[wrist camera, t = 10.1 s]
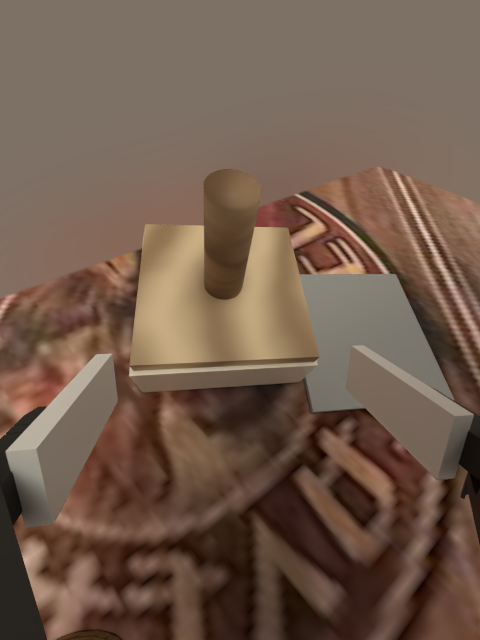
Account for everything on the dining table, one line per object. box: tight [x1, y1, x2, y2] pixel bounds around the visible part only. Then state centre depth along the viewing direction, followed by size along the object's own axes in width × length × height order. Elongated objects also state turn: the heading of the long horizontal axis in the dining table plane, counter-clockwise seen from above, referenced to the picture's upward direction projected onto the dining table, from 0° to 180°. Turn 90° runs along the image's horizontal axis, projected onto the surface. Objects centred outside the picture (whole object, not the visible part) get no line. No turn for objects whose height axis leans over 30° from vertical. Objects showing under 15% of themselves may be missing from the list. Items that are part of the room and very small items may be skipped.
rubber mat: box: [300, 274, 455, 413], centre depth 30 cm, size 15×16×1 cm
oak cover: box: [129, 169, 320, 371], centre depth 20 cm, size 14×14×11 cm
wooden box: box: [129, 238, 318, 393], centre depth 27 cm, size 15×15×5 cm
